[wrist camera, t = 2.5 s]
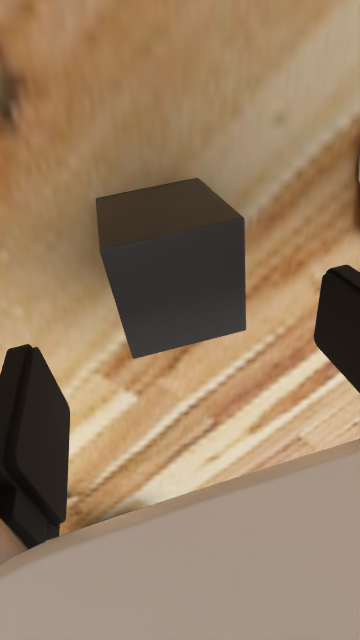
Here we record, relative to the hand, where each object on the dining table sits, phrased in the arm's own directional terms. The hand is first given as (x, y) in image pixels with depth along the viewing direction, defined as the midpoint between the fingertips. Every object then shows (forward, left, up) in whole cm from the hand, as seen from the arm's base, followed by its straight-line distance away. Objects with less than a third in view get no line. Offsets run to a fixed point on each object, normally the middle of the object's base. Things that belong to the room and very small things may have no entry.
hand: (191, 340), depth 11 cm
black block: (0, 0, -8) cm, 8 cm away
